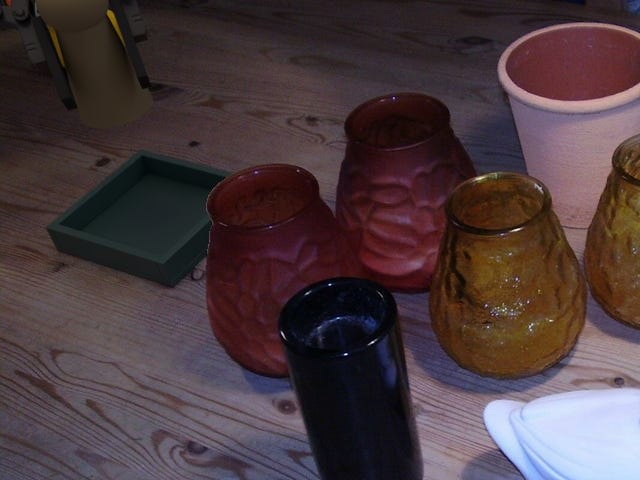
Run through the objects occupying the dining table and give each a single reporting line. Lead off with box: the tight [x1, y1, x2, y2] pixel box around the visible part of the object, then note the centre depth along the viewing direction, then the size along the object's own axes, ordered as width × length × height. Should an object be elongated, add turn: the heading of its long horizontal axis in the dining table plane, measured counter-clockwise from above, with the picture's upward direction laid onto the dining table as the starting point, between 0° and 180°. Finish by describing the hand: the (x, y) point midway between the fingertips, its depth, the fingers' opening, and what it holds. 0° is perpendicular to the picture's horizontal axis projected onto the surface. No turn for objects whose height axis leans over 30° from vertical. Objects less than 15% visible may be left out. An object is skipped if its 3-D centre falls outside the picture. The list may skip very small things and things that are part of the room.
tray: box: [45, 148, 234, 288], centre depth 89 cm, size 14×13×3 cm
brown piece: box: [35, 0, 154, 129], centre depth 78 cm, size 6×6×11 cm
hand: (107, 92), depth 77 cm, fingers closed on brown piece, 5 cm apart
